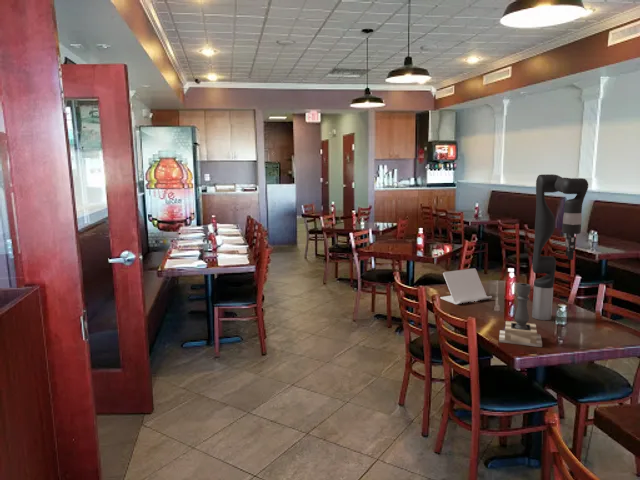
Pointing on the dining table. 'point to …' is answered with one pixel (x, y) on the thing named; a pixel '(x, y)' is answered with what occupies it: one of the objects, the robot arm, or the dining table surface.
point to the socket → (520, 335)
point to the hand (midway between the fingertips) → (569, 257)
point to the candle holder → (522, 306)
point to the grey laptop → (464, 286)
